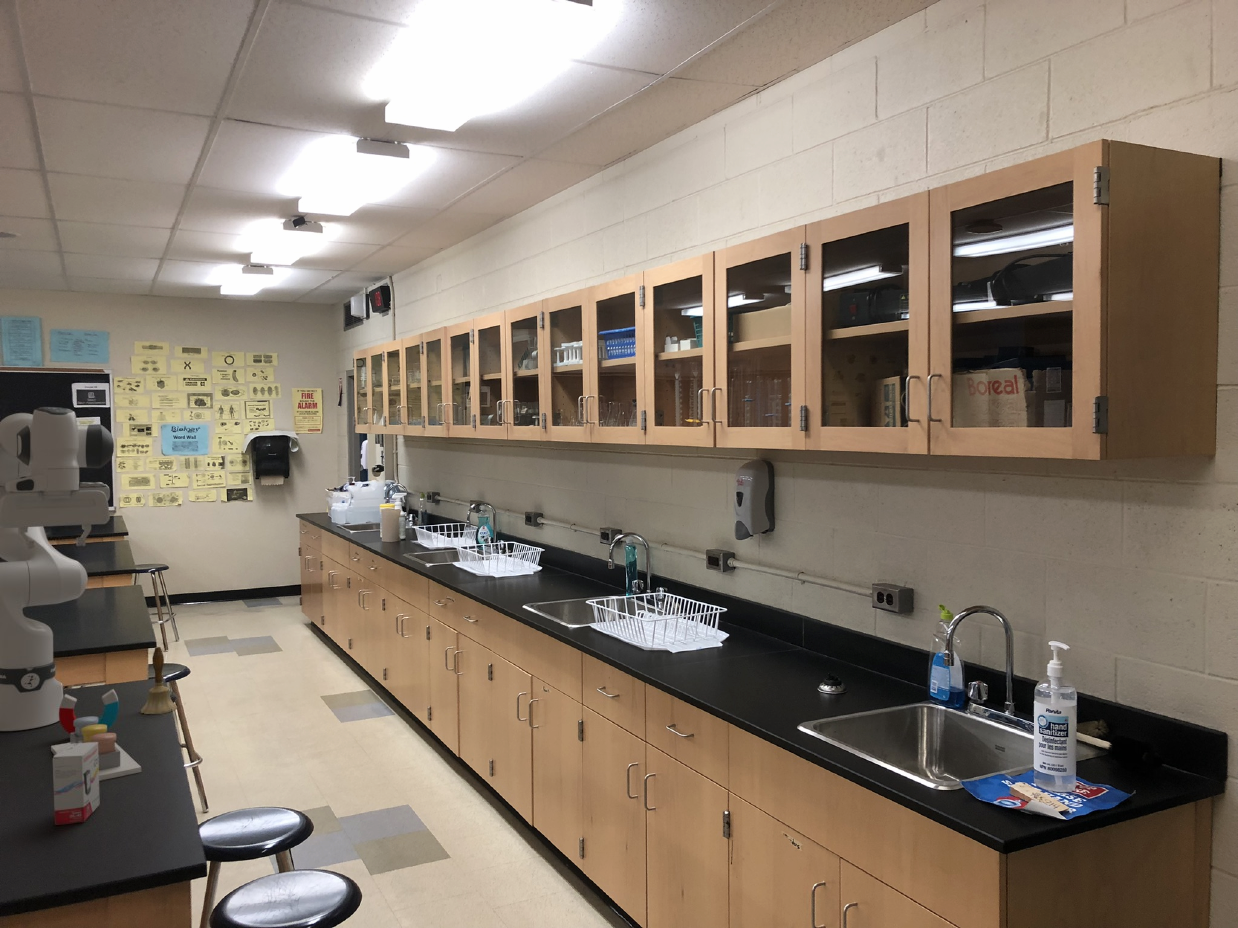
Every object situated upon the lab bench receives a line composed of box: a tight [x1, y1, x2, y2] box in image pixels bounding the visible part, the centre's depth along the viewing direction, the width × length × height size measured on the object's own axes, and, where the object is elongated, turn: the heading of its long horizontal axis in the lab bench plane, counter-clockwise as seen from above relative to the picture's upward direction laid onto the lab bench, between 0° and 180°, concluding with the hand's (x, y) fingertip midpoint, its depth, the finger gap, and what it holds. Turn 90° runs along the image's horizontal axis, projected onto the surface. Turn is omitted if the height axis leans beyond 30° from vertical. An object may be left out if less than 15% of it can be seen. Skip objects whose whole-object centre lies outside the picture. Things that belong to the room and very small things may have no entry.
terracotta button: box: [90, 732, 117, 755], centre depth 183 cm, size 5×5×4 cm
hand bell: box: [140, 646, 178, 715], centre depth 228 cm, size 8×8×16 cm
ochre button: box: [82, 724, 108, 743], centre depth 189 cm, size 5×5×4 cm
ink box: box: [52, 742, 101, 826], centre depth 160 cm, size 9×5×12 cm, turn 13°
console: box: [50, 732, 142, 782], centre depth 189 cm, size 28×11×4 cm, turn 42°
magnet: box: [59, 688, 120, 735], centre depth 206 cm, size 12×3×10 cm, turn 118°
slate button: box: [74, 716, 99, 737], centre depth 195 cm, size 5×5×4 cm
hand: (55, 547), depth 193 cm, fingers open, 8 cm apart
